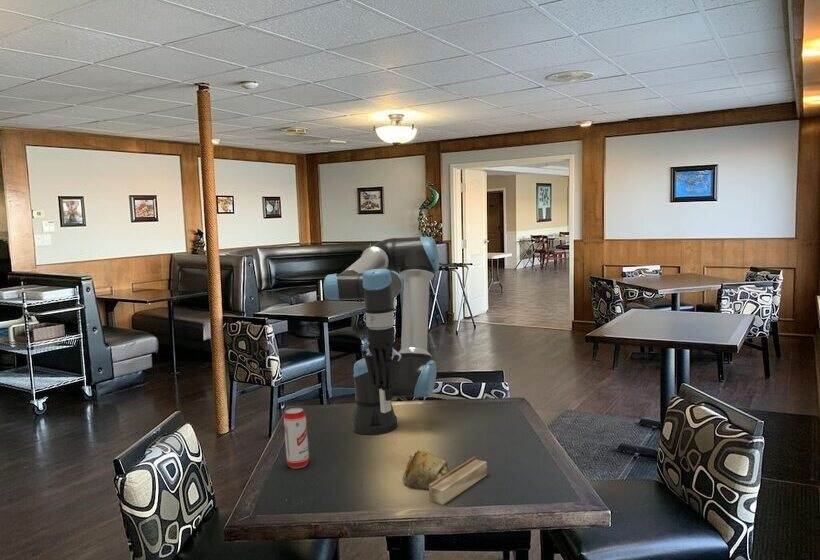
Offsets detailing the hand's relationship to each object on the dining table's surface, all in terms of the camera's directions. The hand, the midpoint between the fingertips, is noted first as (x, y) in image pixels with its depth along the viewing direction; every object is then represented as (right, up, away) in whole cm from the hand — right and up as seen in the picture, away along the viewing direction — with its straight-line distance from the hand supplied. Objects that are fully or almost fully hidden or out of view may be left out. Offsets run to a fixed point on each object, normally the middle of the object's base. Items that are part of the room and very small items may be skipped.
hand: (386, 411), depth 170 cm
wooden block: (+19, -16, -14) cm, 29 cm away
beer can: (-25, -17, +6) cm, 31 cm away
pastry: (+11, -17, -9) cm, 22 cm away
